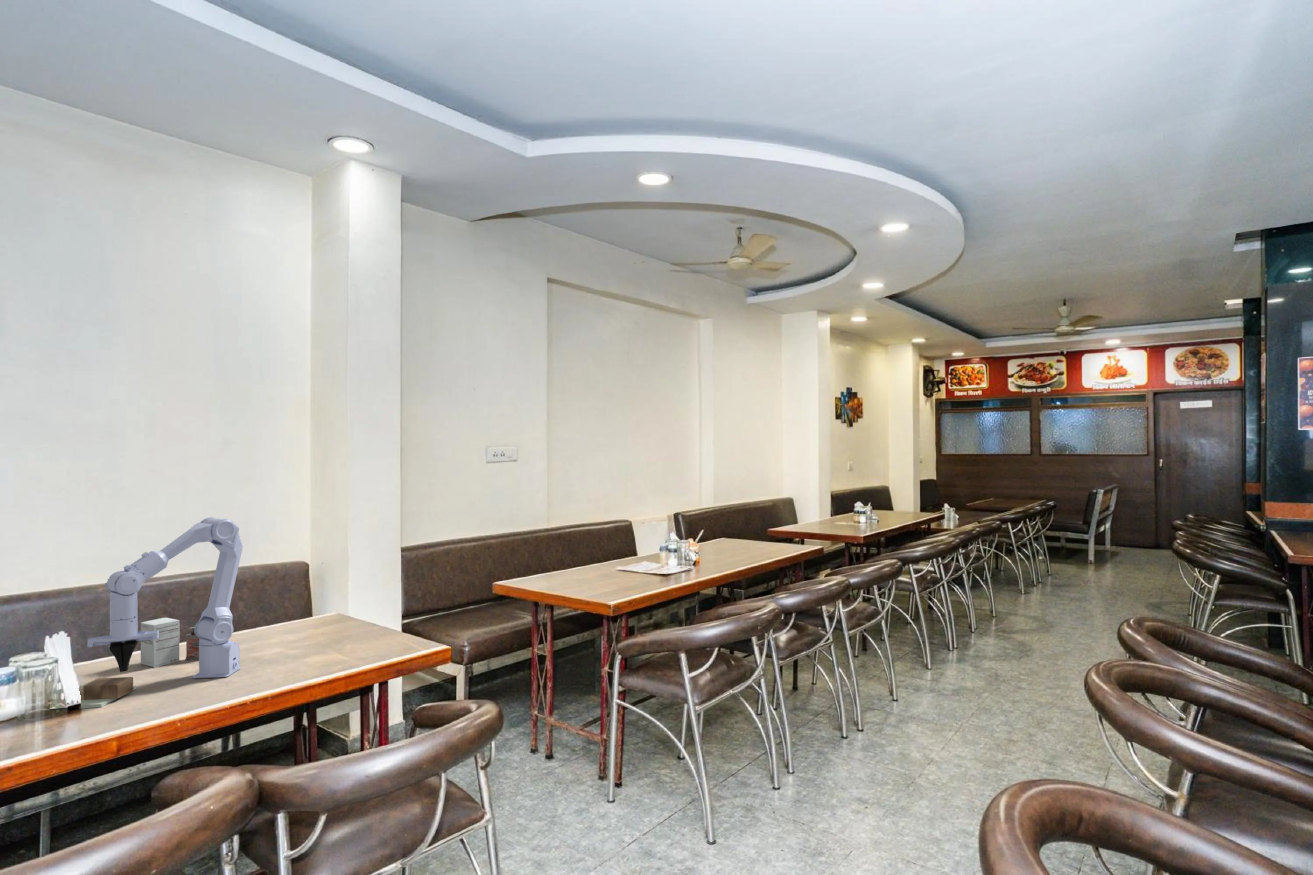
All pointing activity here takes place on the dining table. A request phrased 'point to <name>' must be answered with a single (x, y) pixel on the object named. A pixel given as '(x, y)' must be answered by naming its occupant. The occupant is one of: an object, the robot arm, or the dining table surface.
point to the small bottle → (192, 646)
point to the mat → (97, 702)
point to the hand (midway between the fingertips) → (124, 670)
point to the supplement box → (160, 642)
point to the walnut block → (106, 688)
